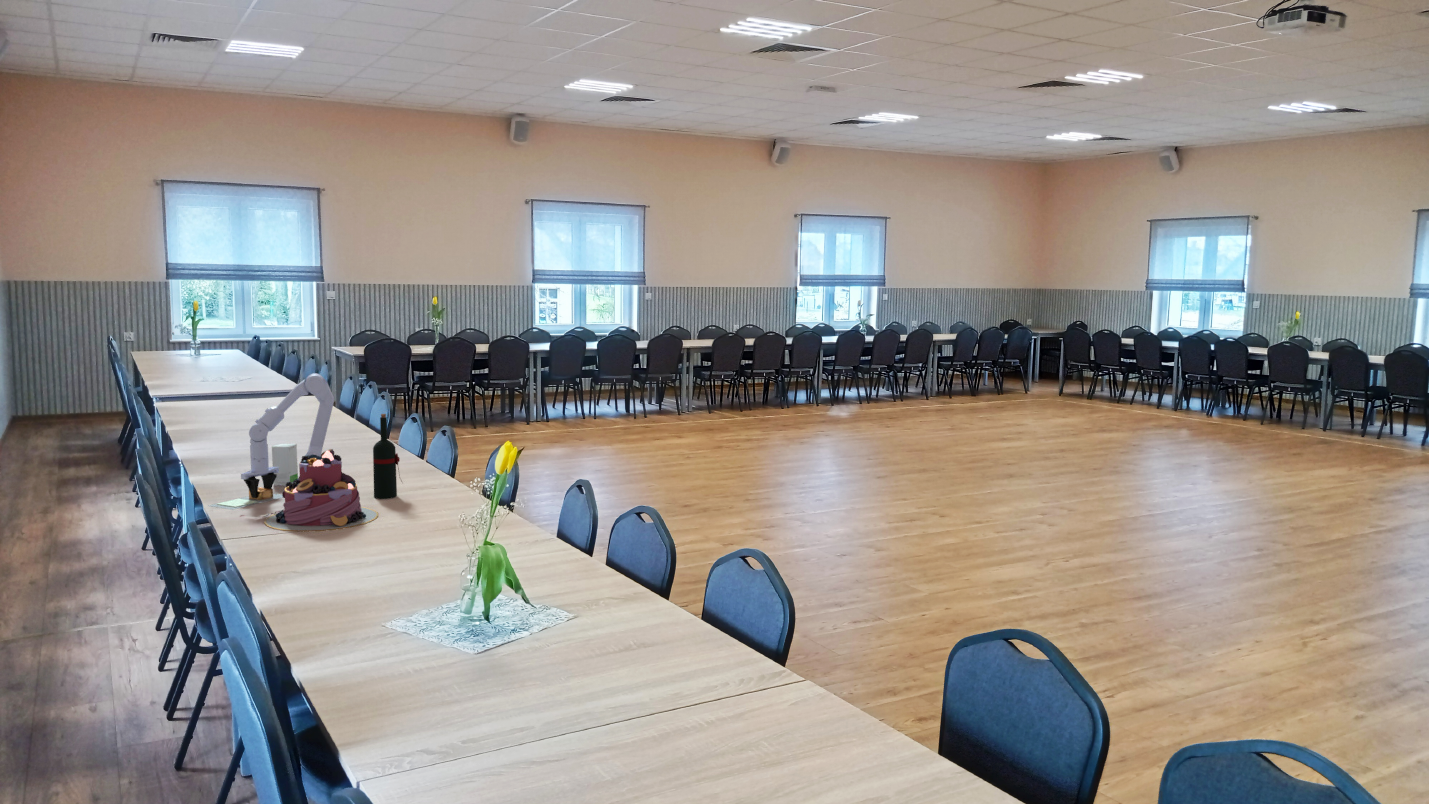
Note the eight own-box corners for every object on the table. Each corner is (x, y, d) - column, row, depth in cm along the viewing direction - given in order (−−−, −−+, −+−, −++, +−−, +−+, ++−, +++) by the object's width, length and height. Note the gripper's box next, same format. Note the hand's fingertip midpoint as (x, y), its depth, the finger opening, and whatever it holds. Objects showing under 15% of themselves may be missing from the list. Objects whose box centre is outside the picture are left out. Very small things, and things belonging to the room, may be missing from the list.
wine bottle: (404, 497, 367) (402, 414, 363) (374, 499, 364) (372, 415, 360) (402, 493, 374) (401, 412, 371) (373, 495, 371) (371, 412, 367)
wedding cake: (254, 534, 315) (251, 462, 312) (273, 509, 348) (270, 443, 345) (374, 529, 323) (372, 458, 321) (381, 504, 357) (379, 440, 354)
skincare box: (289, 488, 380) (288, 446, 378) (271, 488, 380) (270, 446, 378) (299, 483, 388) (297, 443, 386) (281, 483, 389) (280, 442, 387)
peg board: (289, 498, 363) (289, 490, 363) (232, 512, 342) (232, 503, 341) (264, 495, 368) (264, 486, 368) (207, 508, 347) (206, 499, 346)
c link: (273, 497, 360) (272, 488, 360) (261, 500, 356) (261, 491, 356) (260, 495, 363) (260, 487, 362) (249, 498, 358) (248, 489, 358)
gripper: (267, 453, 366) (269, 491, 367) (233, 460, 353) (235, 498, 354) (282, 455, 363) (283, 493, 365) (248, 462, 350) (250, 501, 351)
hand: (261, 496), depth 359 cm, fingers closed on c link, 5 cm apart
